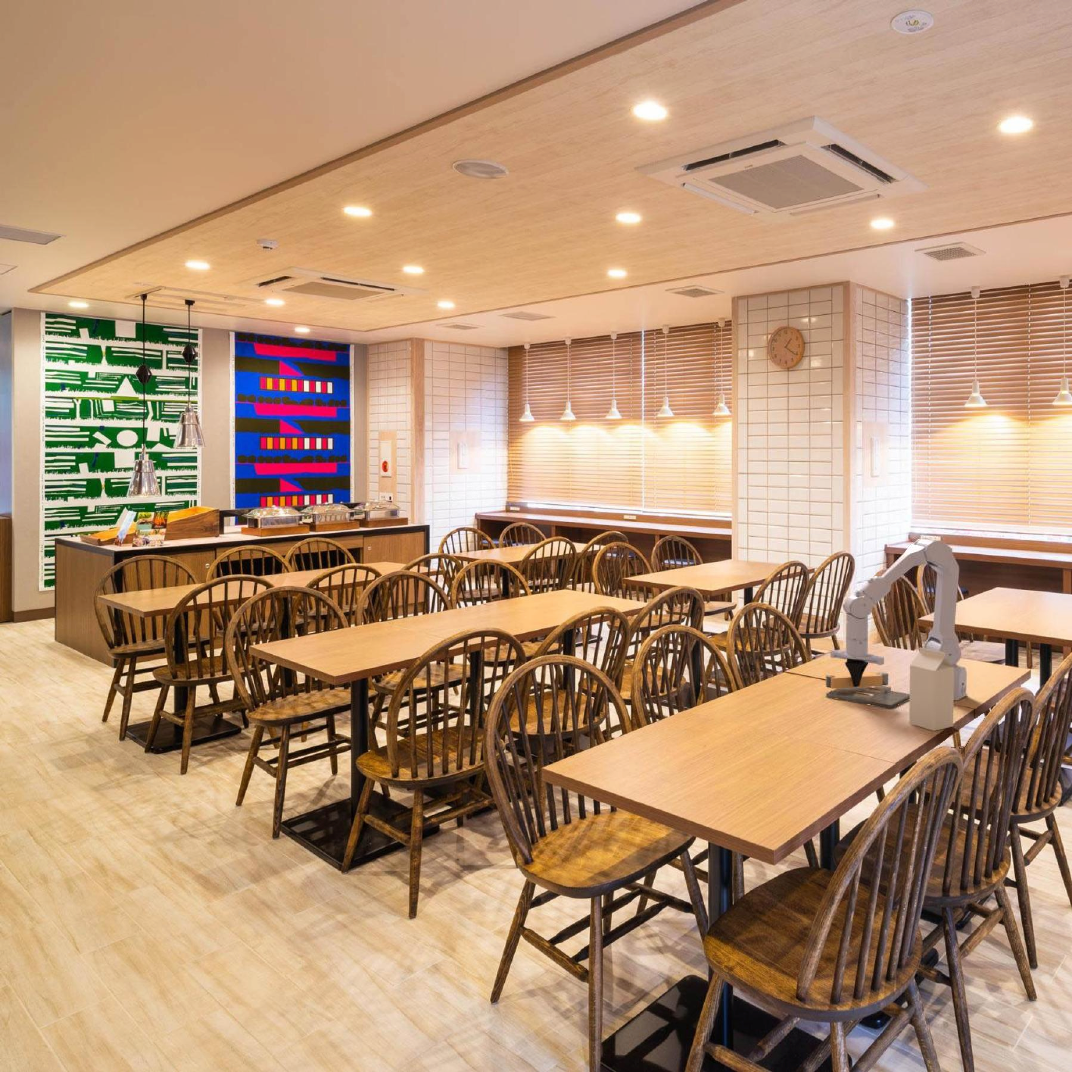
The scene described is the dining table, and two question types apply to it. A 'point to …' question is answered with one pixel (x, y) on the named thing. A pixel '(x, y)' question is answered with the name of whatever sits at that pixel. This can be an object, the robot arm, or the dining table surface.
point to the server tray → (870, 696)
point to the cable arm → (866, 681)
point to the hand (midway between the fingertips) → (856, 686)
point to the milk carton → (931, 690)
